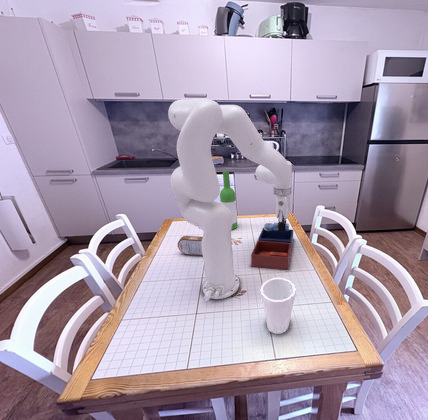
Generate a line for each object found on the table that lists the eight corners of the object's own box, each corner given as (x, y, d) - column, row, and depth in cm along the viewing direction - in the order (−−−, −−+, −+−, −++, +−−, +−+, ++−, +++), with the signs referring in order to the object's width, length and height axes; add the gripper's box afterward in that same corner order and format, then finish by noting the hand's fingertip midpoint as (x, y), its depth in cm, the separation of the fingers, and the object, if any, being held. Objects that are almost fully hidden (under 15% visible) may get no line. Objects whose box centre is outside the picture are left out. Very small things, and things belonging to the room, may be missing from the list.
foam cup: (276, 307, 74) (276, 273, 69) (300, 322, 69) (302, 287, 64) (255, 326, 68) (253, 290, 63) (279, 345, 62) (280, 307, 57)
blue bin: (291, 252, 103) (291, 241, 101) (258, 249, 105) (257, 239, 103) (293, 239, 114) (293, 229, 112) (263, 237, 116) (263, 227, 113)
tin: (214, 253, 102) (212, 236, 99) (212, 257, 100) (209, 240, 96) (181, 251, 104) (178, 234, 101) (178, 255, 101) (174, 238, 98)
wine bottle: (239, 228, 124) (235, 172, 112) (224, 231, 121) (219, 174, 109) (235, 222, 130) (231, 169, 119) (221, 225, 127) (216, 170, 116)
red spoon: (287, 257, 99) (287, 251, 98) (286, 263, 95) (286, 257, 94) (261, 254, 101) (260, 249, 100) (258, 260, 97) (258, 255, 96)
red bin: (288, 269, 92) (288, 258, 90) (251, 266, 94) (250, 254, 92) (290, 254, 102) (291, 243, 100) (257, 251, 104) (257, 240, 102)
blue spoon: (289, 227, 108) (289, 222, 107) (288, 232, 104) (288, 226, 103) (265, 226, 109) (265, 220, 108) (263, 230, 105) (263, 225, 104)
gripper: (289, 197, 91) (288, 238, 99) (292, 185, 106) (292, 222, 113) (270, 196, 92) (271, 237, 100) (276, 184, 107) (276, 221, 114)
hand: (282, 229), depth 106 cm, fingers closed on blue spoon, 2 cm apart
